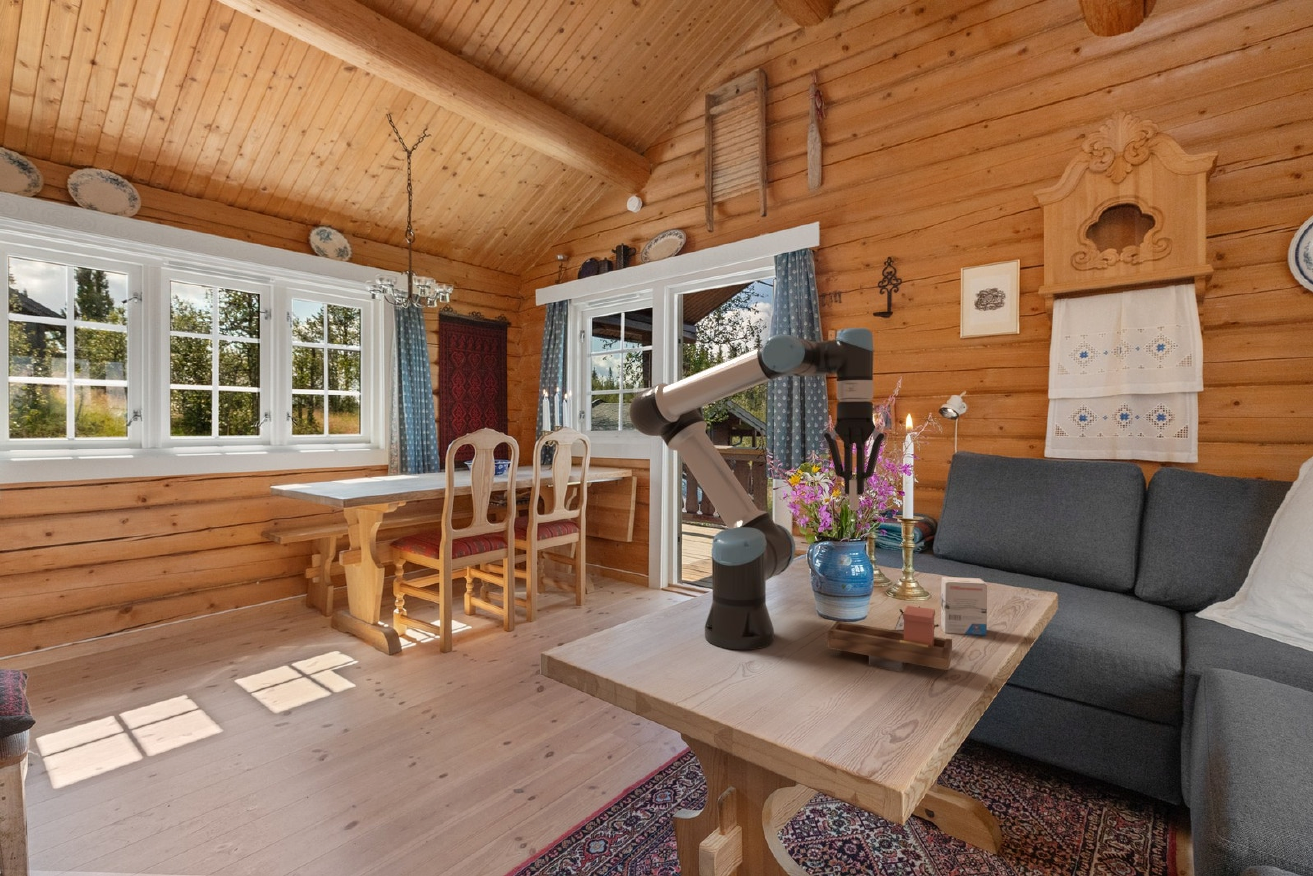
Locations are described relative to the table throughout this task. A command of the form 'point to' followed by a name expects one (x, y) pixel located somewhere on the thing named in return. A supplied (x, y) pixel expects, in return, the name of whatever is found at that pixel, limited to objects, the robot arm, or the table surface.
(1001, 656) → the table surface
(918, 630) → the red lidded box
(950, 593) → the ink box
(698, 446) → the robot arm
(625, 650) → the table surface
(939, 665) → the brown long open box
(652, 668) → the table surface
